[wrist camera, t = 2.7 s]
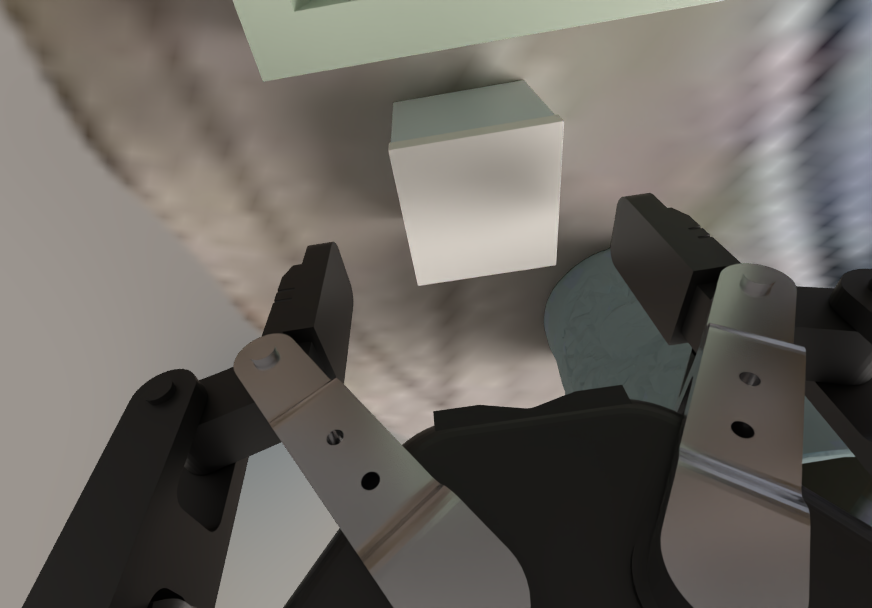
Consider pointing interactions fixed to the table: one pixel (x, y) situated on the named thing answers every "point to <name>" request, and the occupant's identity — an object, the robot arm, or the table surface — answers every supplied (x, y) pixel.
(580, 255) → the table surface
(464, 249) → the off-white carton
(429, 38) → the tote
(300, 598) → the robot arm
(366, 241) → the table surface
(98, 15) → the table surface
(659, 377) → the teal cup
